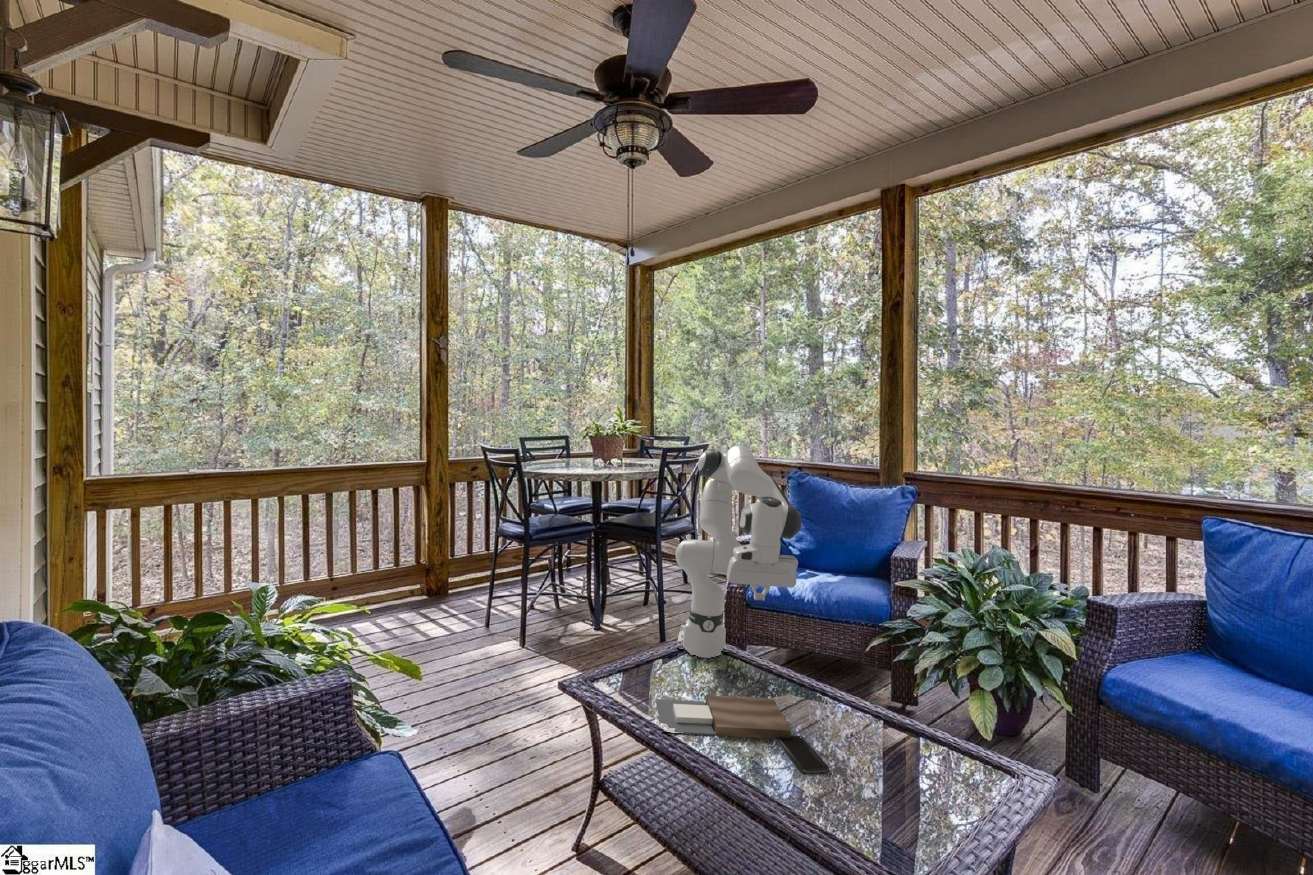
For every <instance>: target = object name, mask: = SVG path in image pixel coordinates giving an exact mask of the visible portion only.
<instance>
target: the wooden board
mask: <svg viewBox="0 0 1313 875" xmlns="http://www.w3.org/2000/svg"><path fill="white" fill-rule="evenodd" d="M705 696H706V697H705V705H708V706H709V709H710V712H711V715H712V718H713V722H712V724H711V725H712V728H713V732H714V736H717V737H732V738H733V737H735V738H751V739H753V738H754V739H769V740H770V739H772V740H777V737H789V738H790V736H791V734H792V733H791V732H792V730H791V728H790V726H789V724H788V723H787V721H786V719H785V717H784V714H783V713H782V712H781V710H780V708H779V706H778V704H777V702H776V700H775V699H774V698H768V697H767V698H764V697H749V696H748V697H747V696H731V695H715V694H712V695H710V694H706V695H705Z"/></svg>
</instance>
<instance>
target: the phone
mask: <svg viewBox="0 0 1313 875" xmlns="http://www.w3.org/2000/svg"><path fill="white" fill-rule="evenodd" d="M800 737H801V738H800ZM775 740H776V743H777V745H778V746H779V747H780V748H781V750H782V751H783V752H784V754H785V755H786V756H787V757H788V759H790V761H791V762H792V764H793V765H794V766H795V768H797V770H798V771H799V773H801V774H803V775H814V774H815V775H817V774H828V773H829V772H830V767H829V765H828V764H827V763H826V762H825V761H824V760H823V759H822V757H821V756H820V755H819V754H818V753H817V752H816V750H815V749H814V748H813V747H812V745H810V744H809V742H808V741H807V740H806V739H805V738H804V737H803V736H801V735H790V738H789V737H777V739H775Z"/></svg>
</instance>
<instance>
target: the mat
mask: <svg viewBox="0 0 1313 875" xmlns="http://www.w3.org/2000/svg"><path fill="white" fill-rule="evenodd" d="M655 701H656V707H657V708H658V709H657V715H658V714H659V715H658V719H661V720H660V721H661V722H659V724H660V723H666V724H668V727H669V728H676V729H675V730H674V731H675V732H683V733H687V734H686V735H693V736H694V735H695V736H696V735H697V736H713V737H714V736H715V731H714V728H713V725H712V724H702V723H680V722H676V721H675V716H674V712H673V704H687V705H706V702H705V701H703V700H702V701H701V700H683V699H668V698H667V699H665V698H656V700H655Z"/></svg>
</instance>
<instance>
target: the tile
mask: <svg viewBox="0 0 1313 875" xmlns="http://www.w3.org/2000/svg"><path fill="white" fill-rule="evenodd" d="M673 712H674V716H675V721H676V722H680V723H702V724H711V725H712V722H713V718H712V715H711V712H710V709H709V706H708V705H706V704H705V705H687V704H673Z"/></svg>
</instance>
